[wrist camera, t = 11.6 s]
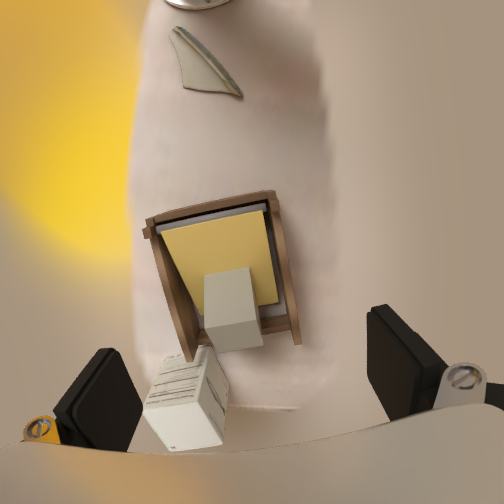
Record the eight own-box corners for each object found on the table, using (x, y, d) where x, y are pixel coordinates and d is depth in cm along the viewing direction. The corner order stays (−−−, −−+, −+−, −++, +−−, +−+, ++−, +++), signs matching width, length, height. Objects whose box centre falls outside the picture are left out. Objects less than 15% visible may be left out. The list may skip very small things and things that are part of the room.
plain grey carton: (204, 275, 34) (204, 328, 28) (249, 266, 33) (256, 319, 28) (215, 302, 37) (217, 353, 32) (256, 295, 37) (263, 345, 32)
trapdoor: (156, 223, 29) (155, 230, 29) (264, 200, 29) (265, 206, 28) (198, 310, 39) (198, 316, 38) (280, 295, 39) (281, 301, 38)
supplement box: (231, 384, 42) (225, 446, 29) (185, 394, 42) (168, 453, 30) (212, 343, 40) (198, 401, 28) (164, 355, 41) (137, 411, 28)
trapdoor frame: (163, 212, 36) (139, 220, 28) (270, 189, 36) (276, 190, 28) (196, 335, 40) (184, 369, 32) (294, 318, 39) (304, 350, 31)
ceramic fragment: (245, 95, 34) (244, 85, 30) (211, 120, 35) (206, 113, 31) (182, 28, 32) (175, 14, 28) (150, 50, 32) (141, 38, 29)
